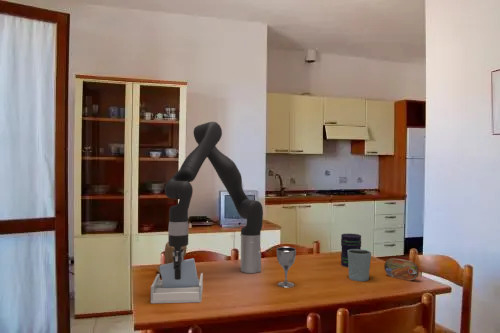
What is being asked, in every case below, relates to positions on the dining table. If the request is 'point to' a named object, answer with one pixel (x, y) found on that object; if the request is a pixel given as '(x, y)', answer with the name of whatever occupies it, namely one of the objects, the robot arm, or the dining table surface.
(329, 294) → the dining table surface
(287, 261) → the wine glass
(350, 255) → the grey tapered cup
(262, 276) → the dining table surface
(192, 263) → the blue-grey rectangular slab
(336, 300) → the dining table surface
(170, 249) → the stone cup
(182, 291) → the dish rack
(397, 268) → the tin
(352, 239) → the storage jar
